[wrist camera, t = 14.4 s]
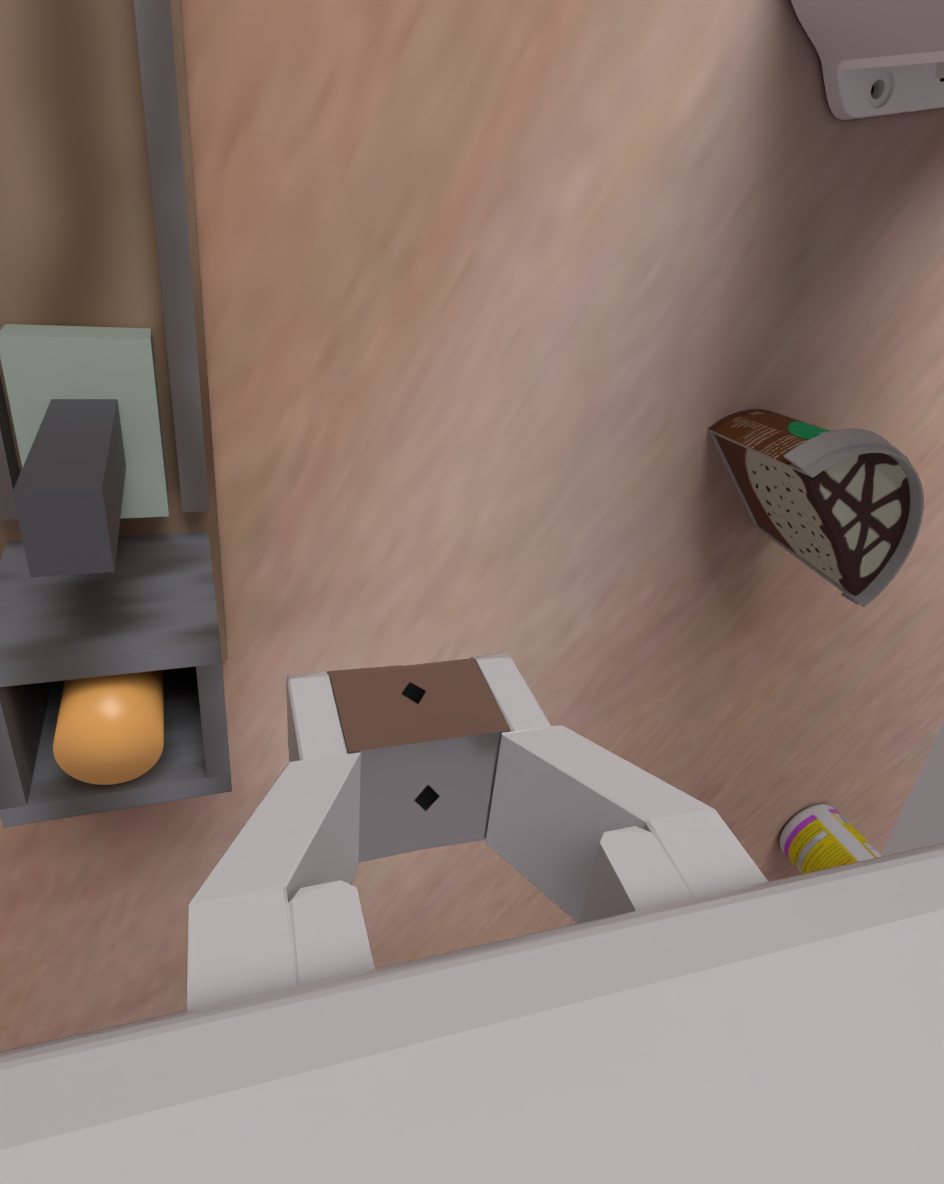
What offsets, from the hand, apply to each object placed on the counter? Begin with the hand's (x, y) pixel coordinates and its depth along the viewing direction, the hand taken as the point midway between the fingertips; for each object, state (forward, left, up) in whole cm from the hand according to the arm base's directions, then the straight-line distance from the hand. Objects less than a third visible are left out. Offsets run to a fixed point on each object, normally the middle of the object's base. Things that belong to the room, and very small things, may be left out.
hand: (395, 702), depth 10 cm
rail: (+6, +3, -31) cm, 32 cm away
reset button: (+6, +15, -24) cm, 29 cm away
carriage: (+6, +5, -29) cm, 30 cm away
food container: (-34, +8, -31) cm, 47 cm away
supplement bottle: (-52, +47, -31) cm, 77 cm away
